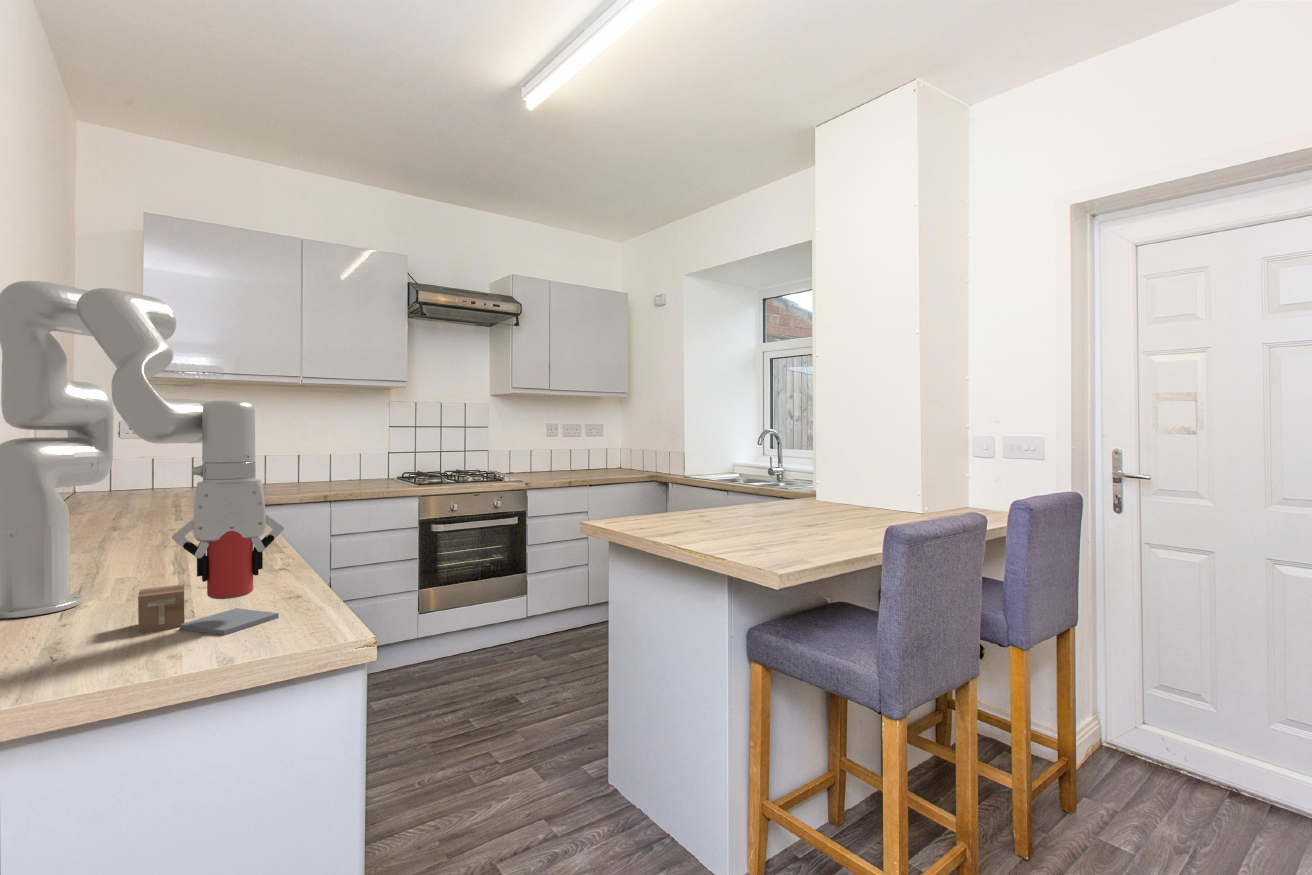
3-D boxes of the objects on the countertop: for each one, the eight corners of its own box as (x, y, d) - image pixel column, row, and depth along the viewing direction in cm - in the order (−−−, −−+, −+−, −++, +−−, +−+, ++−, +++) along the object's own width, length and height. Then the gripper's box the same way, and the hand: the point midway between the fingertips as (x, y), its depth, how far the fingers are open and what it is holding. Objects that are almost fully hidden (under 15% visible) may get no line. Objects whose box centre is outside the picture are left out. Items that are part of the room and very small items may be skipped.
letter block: (140, 624, 107) (139, 589, 107) (183, 617, 111) (183, 584, 111) (138, 633, 102) (138, 597, 102) (184, 626, 106) (184, 591, 106)
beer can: (230, 601, 104) (229, 528, 103) (197, 599, 105) (196, 527, 105) (262, 591, 110) (262, 522, 110) (231, 589, 111) (230, 521, 111)
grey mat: (179, 629, 104) (179, 624, 104) (236, 612, 114) (236, 608, 114) (224, 635, 101) (224, 630, 101) (278, 617, 111) (278, 613, 111)
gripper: (164, 476, 99) (166, 589, 99) (290, 471, 110) (291, 573, 110) (165, 473, 105) (166, 580, 105) (285, 469, 116) (285, 566, 116)
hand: (230, 576), depth 107 cm, fingers closed on beer can, 6 cm apart
